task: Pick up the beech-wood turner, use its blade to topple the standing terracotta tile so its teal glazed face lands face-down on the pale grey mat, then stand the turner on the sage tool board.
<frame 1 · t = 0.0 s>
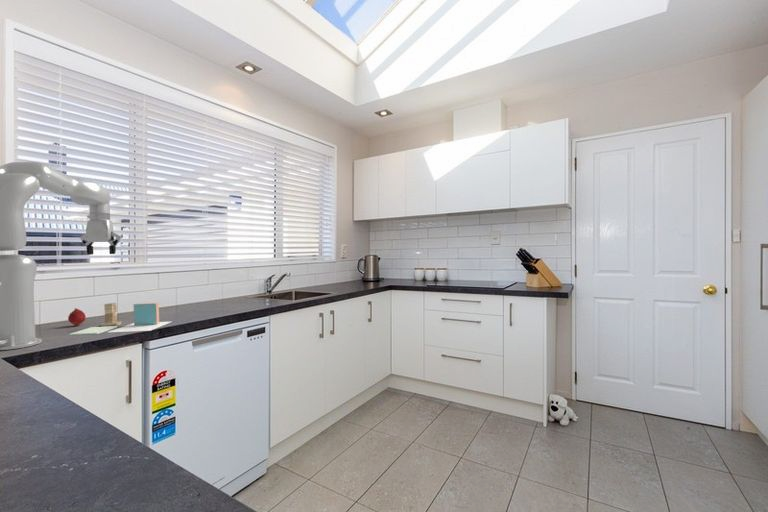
hand: (101, 254, 169), 31 cm above the worktop, tool pointing down, fingers open, 9 cm apart
onion: (77, 326, 159), on the worktop
tile: (146, 324, 154), point 1 cm above the worktop, touching mat
mat: (141, 328, 150), on the worktop
turner: (111, 326, 155), on the worktop
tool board: (94, 332, 144), on the worktop
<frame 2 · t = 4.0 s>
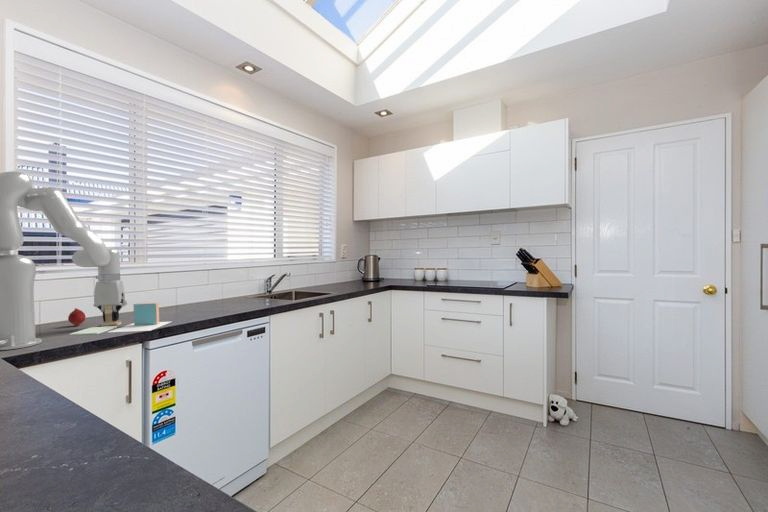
hand: (111, 320, 155), 3 cm above the worktop, tool pointing down, fingers closed on turner, 2 cm apart
turner: (111, 326, 155), on the worktop, touching gripper
everything else where it was.
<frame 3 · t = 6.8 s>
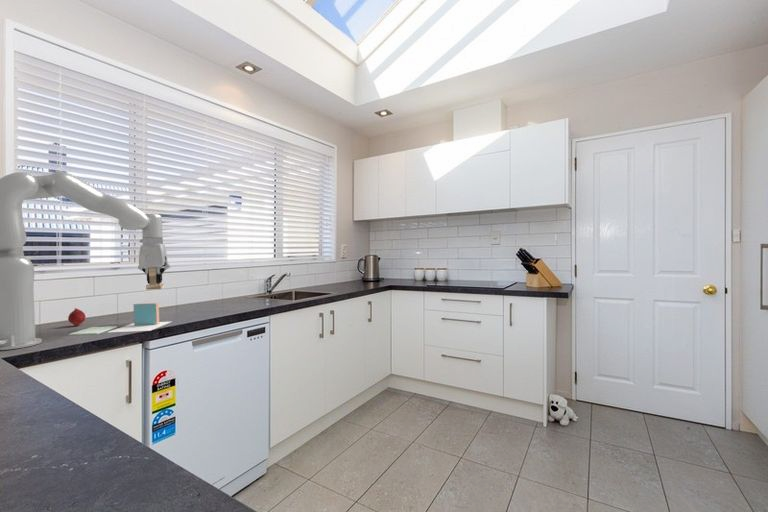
hand: (154, 282, 161), 18 cm above the worktop, tool pointing down, fingers closed on turner, 3 cm apart
turner: (155, 288, 161), point 15 cm above the worktop, touching gripper
everything else where it was.
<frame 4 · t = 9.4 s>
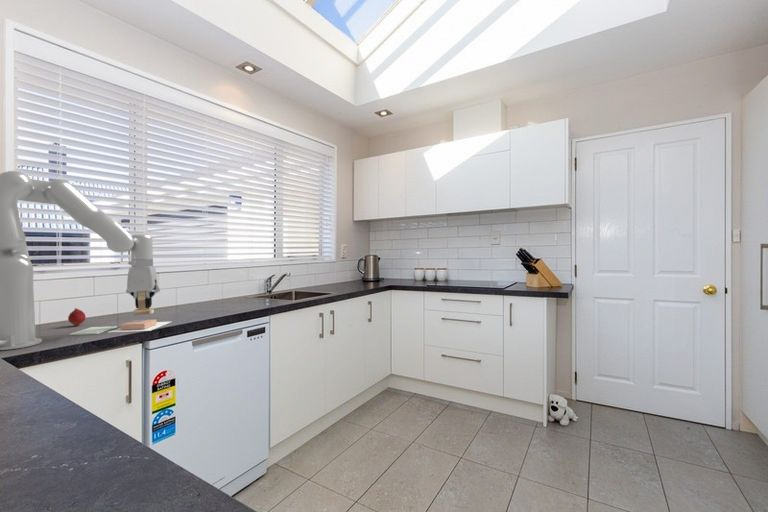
hand: (143, 307, 152), 8 cm above the worktop, tool pointing down, fingers closed on turner, 3 cm apart
tile: (145, 322, 153), point 2 cm above the worktop, tilted 90°, touching mat
turner: (144, 313, 152), point 6 cm above the worktop, touching gripper
everything else where it was.
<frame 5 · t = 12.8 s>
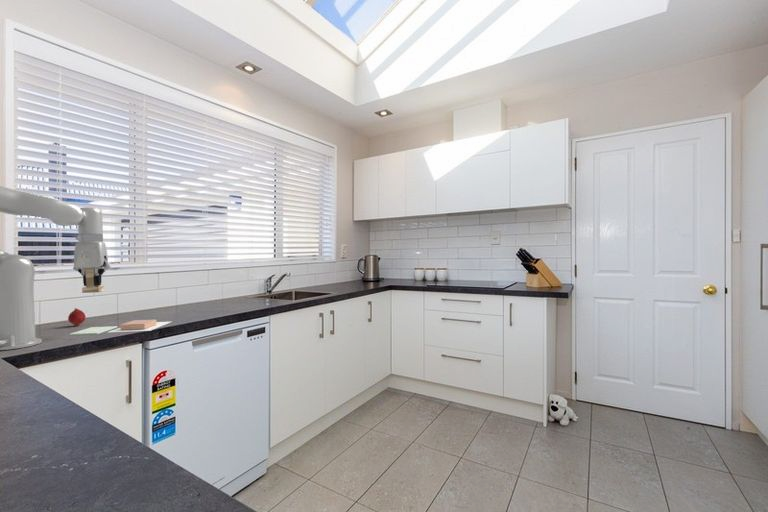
hand: (92, 285, 143), 19 cm above the worktop, tool pointing down, fingers closed on turner, 3 cm apart
turner: (93, 292, 143), point 16 cm above the worktop, touching gripper
everything else where it was.
when the fingers open (5 cm above the worktop, at t = 15.6 s): turner drops 1 cm, resting on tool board.
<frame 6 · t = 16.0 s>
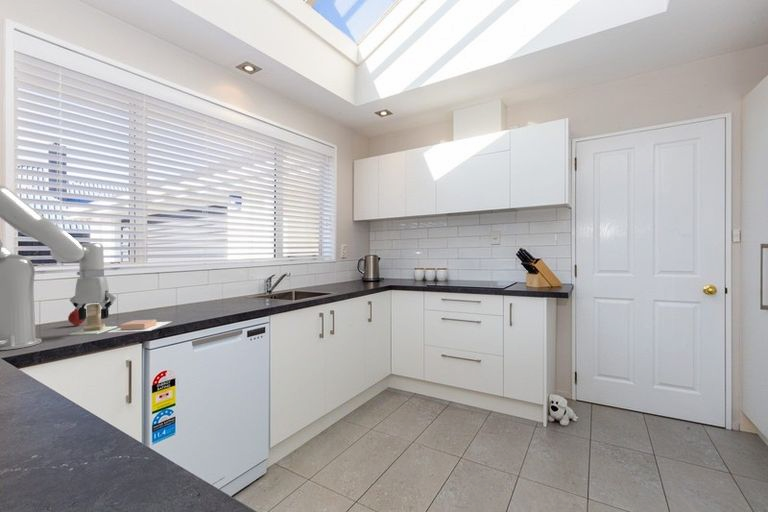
hand: (93, 318, 143), 6 cm above the worktop, tool pointing down, fingers open, 7 cm apart
turner: (94, 329, 144), point 1 cm above the worktop, touching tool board
everything else where it was.
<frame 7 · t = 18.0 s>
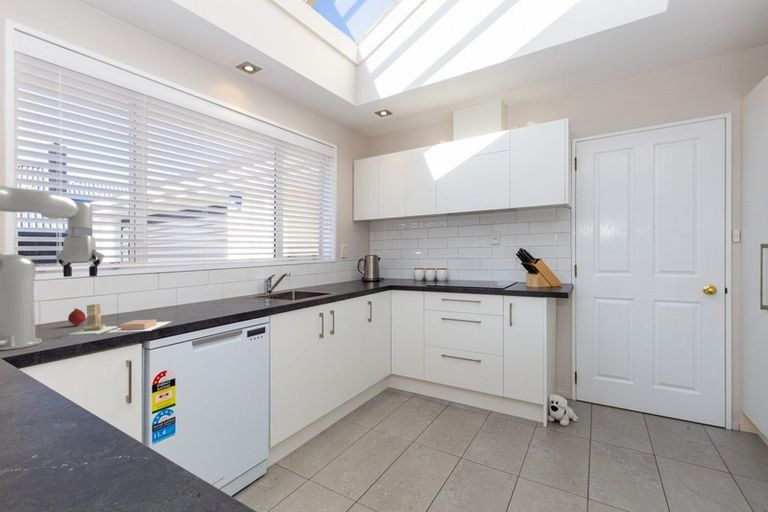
hand: (80, 276, 143), 23 cm above the worktop, tool pointing down, fingers open, 9 cm apart
nothing on the worktop moved.
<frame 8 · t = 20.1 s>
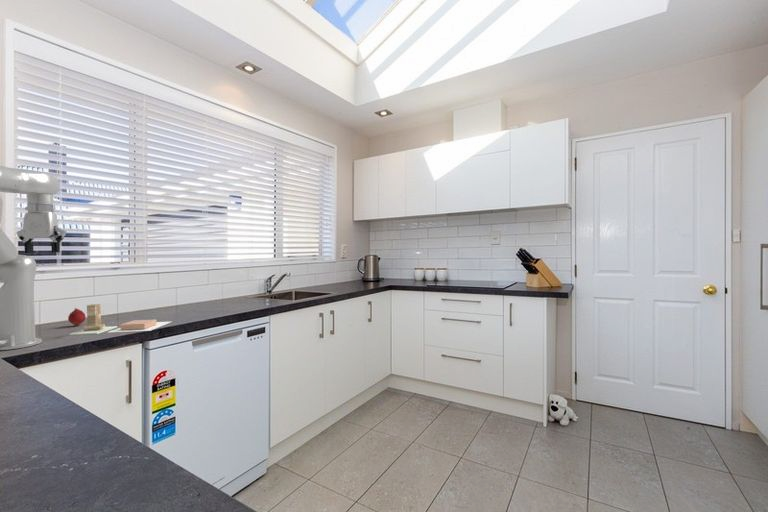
hand: (42, 252, 144), 32 cm above the worktop, tool pointing down, fingers open, 9 cm apart
nothing on the worktop moved.
at the end: tile tilted 90°; tile inside the target area (4.3 cm from its centre), point 2.0 cm above the worktop; turner inside the target area on the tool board (0.2 cm from its centre), point 1.2 cm above the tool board's base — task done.
